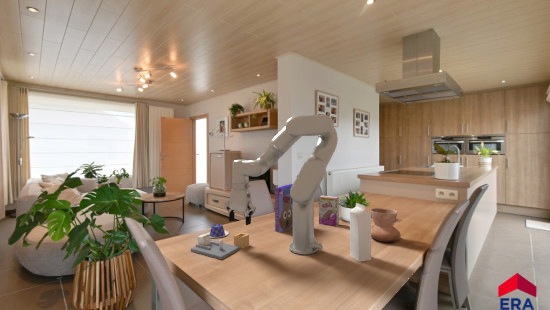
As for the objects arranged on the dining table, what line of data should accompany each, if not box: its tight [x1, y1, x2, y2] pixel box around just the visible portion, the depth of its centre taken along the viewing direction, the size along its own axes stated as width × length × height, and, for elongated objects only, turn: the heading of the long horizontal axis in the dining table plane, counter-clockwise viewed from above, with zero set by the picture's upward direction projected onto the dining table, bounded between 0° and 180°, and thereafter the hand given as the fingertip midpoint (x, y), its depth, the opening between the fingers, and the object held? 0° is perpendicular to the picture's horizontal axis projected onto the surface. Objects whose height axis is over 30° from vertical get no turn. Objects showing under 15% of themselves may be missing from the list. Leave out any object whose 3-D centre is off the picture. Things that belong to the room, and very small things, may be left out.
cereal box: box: [274, 183, 293, 234], centre depth 142 cm, size 17×5×24 cm, turn 148°
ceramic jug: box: [370, 207, 403, 243], centre depth 123 cm, size 18×14×14 cm
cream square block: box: [197, 233, 211, 246], centre depth 115 cm, size 4×4×5 cm
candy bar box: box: [318, 195, 340, 227], centre depth 148 cm, size 11×5×16 cm, turn 58°
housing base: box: [190, 238, 241, 260], centre depth 111 cm, size 18×12×5 cm, turn 60°
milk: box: [349, 202, 372, 263], centre depth 101 cm, size 6×6×22 cm
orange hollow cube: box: [233, 232, 250, 249], centre depth 116 cm, size 5×5×5 cm
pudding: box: [205, 223, 230, 239], centre depth 132 cm, size 12×12×5 cm
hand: (239, 222), depth 116 cm, fingers open, 9 cm apart
